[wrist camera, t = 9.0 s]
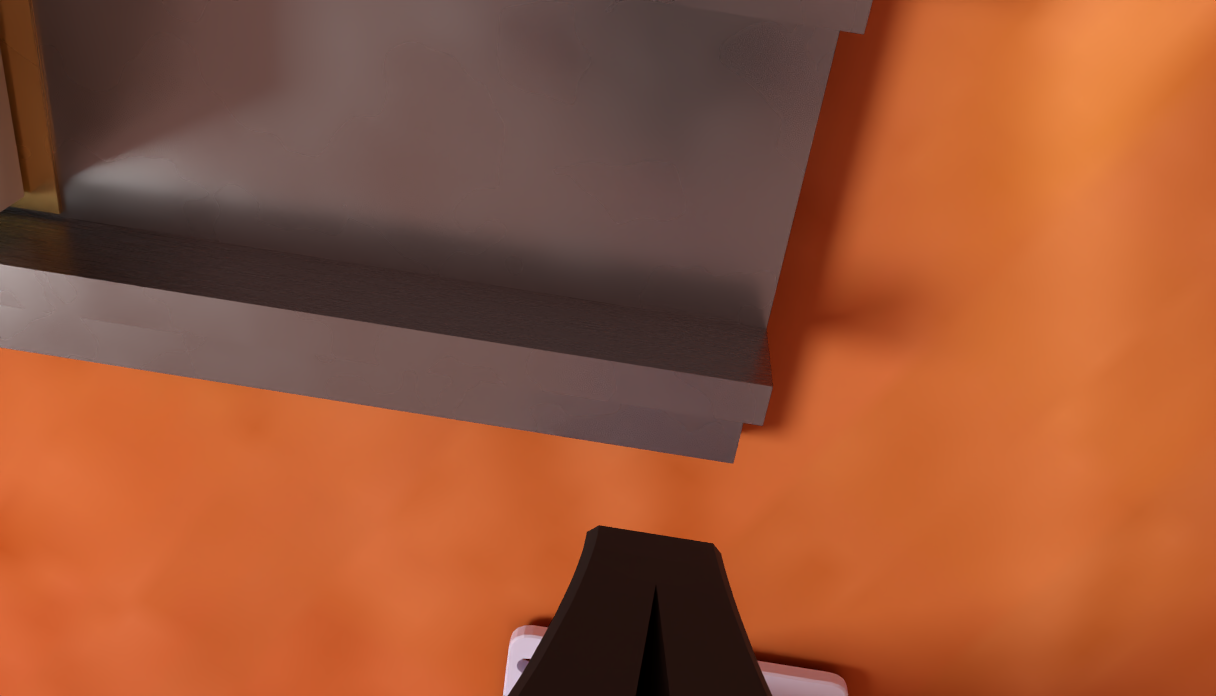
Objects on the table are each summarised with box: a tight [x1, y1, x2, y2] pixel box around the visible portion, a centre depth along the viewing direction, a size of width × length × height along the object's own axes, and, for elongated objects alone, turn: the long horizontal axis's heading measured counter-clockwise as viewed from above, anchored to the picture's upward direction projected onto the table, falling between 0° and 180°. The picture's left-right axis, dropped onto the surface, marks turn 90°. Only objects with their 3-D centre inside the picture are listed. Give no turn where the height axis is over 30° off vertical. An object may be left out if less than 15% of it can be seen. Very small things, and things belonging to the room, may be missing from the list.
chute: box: [0, 0, 873, 463], centre depth 17 cm, size 12×20×3 cm, turn 82°
